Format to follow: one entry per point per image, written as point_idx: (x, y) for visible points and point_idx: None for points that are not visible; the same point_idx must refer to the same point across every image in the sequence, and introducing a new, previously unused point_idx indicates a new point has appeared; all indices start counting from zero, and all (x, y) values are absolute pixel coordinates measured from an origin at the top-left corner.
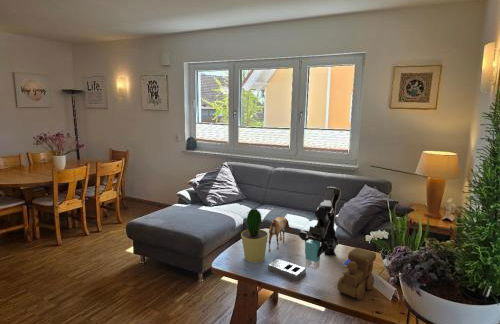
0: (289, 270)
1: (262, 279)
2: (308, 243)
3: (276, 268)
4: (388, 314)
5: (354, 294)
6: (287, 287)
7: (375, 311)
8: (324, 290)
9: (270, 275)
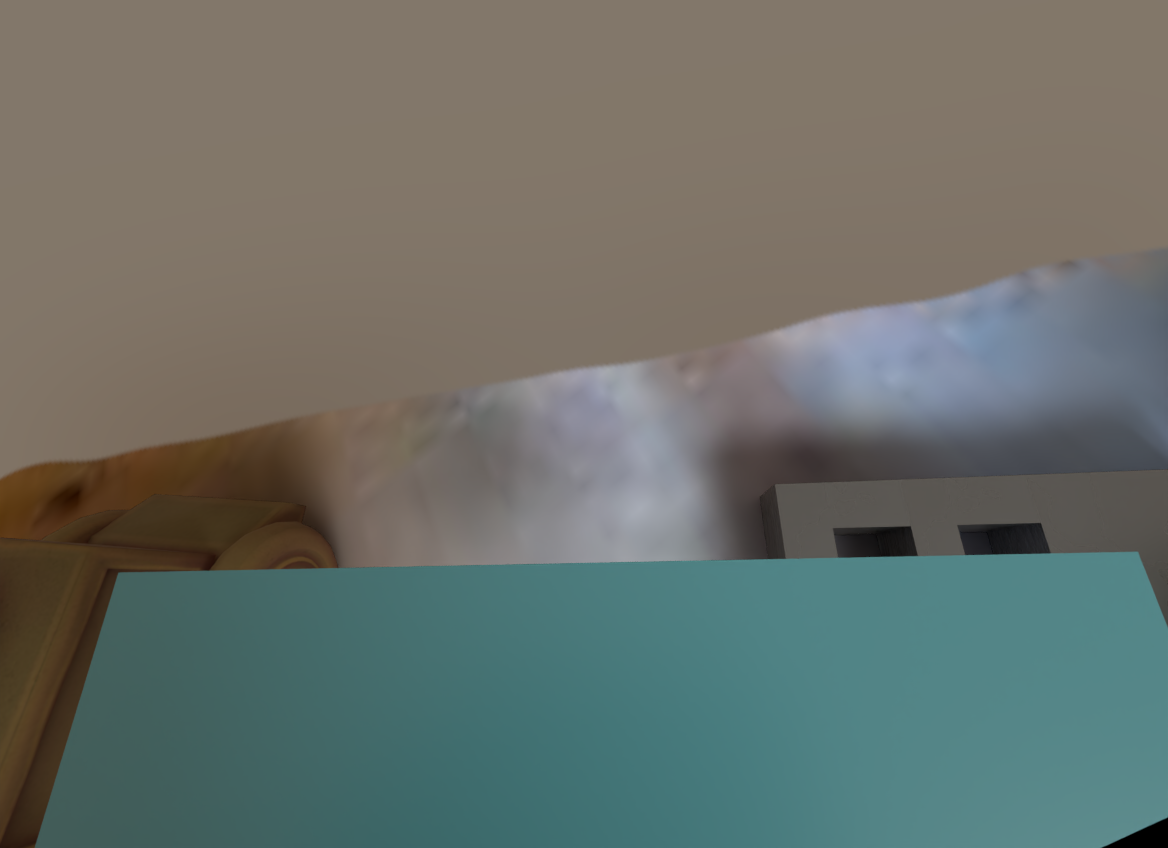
0: (929, 522)
1: (1043, 298)
2: (790, 563)
3: (1110, 473)
4: (7, 518)
5: (151, 498)
6: (752, 344)
7: (82, 495)
8: (462, 511)
9: (1058, 406)
